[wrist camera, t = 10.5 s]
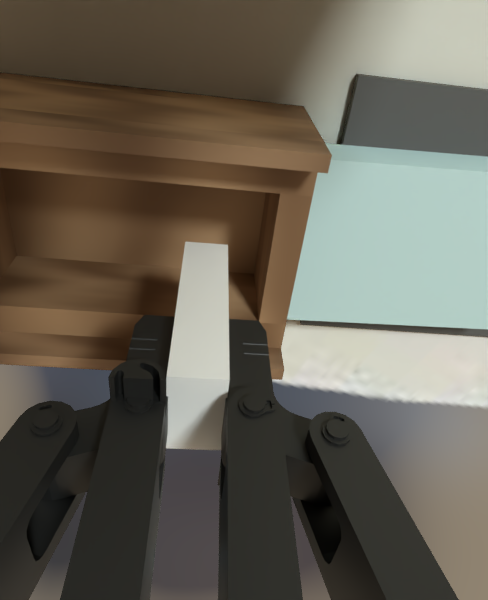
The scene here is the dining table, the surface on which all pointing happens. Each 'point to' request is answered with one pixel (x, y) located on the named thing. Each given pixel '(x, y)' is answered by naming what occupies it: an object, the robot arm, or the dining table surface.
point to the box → (142, 211)
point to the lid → (396, 240)
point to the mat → (415, 137)
